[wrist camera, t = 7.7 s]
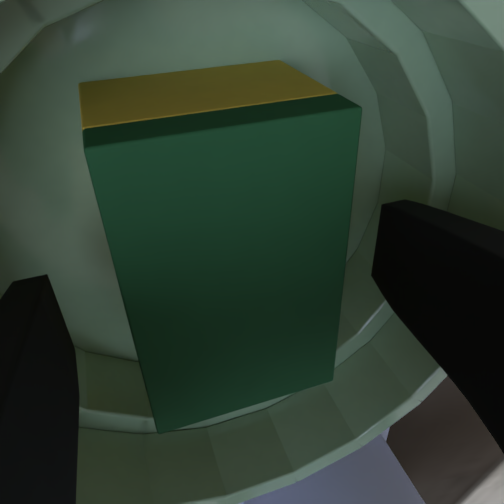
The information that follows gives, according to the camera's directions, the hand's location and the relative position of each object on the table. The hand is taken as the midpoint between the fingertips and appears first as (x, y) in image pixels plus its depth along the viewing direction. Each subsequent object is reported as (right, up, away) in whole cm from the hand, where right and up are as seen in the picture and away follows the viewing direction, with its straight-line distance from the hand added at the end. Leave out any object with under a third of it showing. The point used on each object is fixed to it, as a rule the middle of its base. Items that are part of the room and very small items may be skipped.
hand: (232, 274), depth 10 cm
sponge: (-1, +2, +2) cm, 3 cm away
